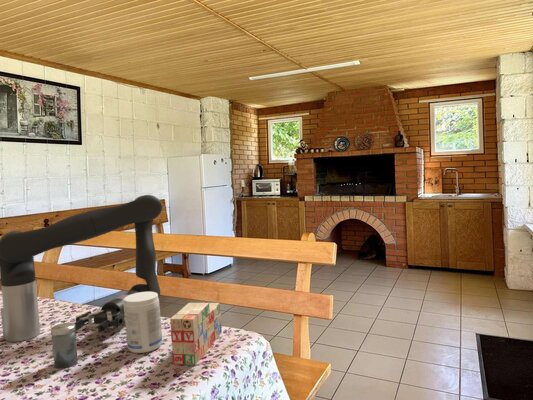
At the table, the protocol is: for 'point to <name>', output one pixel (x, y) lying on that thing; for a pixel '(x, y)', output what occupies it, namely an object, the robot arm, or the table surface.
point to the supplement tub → (142, 322)
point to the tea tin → (64, 345)
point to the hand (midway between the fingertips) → (86, 328)
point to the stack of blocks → (194, 332)
